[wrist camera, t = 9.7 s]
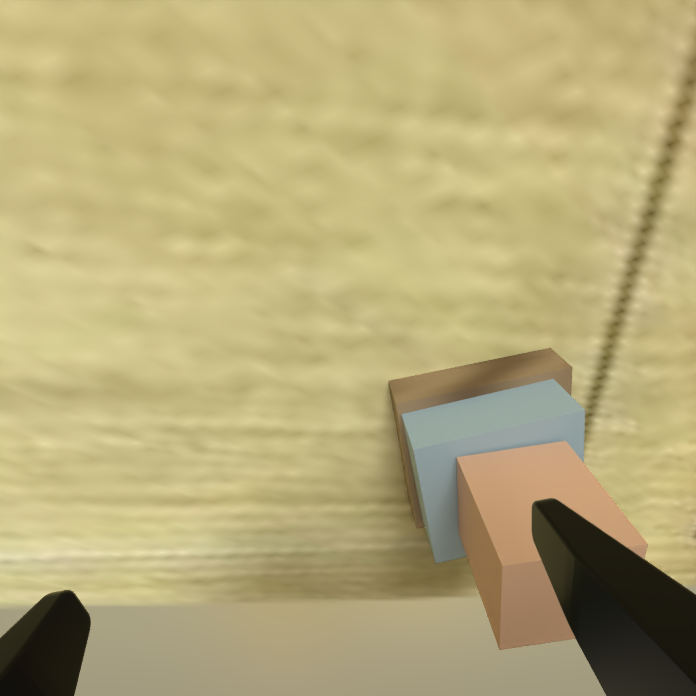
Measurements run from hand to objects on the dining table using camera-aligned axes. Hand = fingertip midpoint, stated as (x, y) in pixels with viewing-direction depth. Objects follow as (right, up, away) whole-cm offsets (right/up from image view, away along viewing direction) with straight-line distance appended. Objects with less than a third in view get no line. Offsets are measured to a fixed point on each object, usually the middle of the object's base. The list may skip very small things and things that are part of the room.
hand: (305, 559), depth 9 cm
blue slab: (+7, -1, +13) cm, 15 cm away
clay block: (+8, -2, +11) cm, 13 cm away
